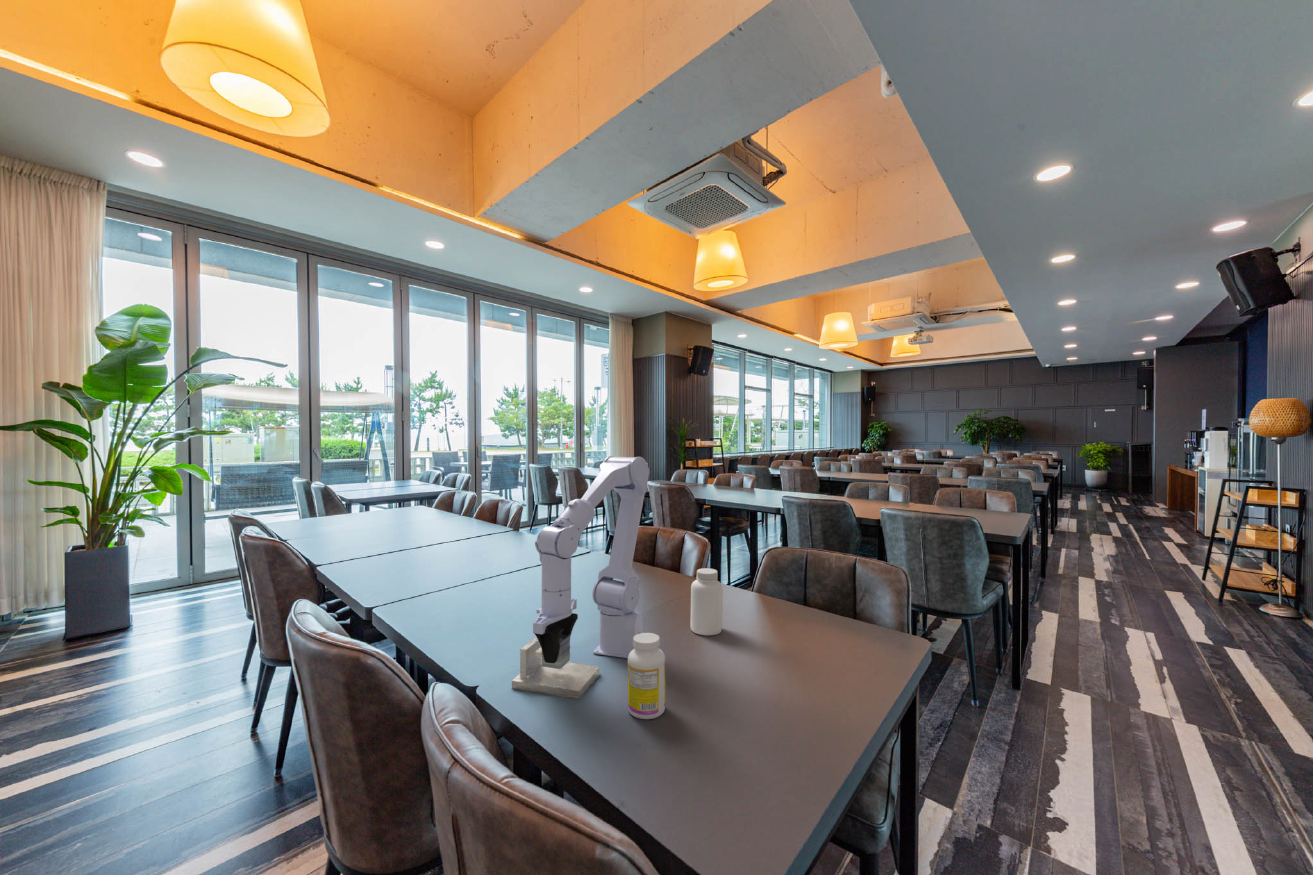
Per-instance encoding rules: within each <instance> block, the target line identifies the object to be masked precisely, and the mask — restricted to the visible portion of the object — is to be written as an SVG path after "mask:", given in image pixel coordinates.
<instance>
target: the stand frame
mask: <svg viewBox="0 0 1313 875" xmlns="http://www.w3.org/2000/svg"><path fill="white" fill-rule="evenodd" d="M541 652H542V649H541V646H540V643H539V641H538V639H537V637H536V636H535V637H534V638H533V639H532V640H530V641H529V642H528V643H526V645H523V647H521V648H520V650H519V653H520V654H519V656H520V657H519V658H520V659H519V660H520V662H519V663H520V665H519V667H520V668H519V674H517V675H516V676H515V677H514V678H513V679H512V680H511V689H513V690H518V691H519V690H520V691H525V692H530V693H531V692H532V693H538V694H543V695H544V694H545V695H550V696H555V697H556V696H557V697H562V698H569V699H574V700H579V699H580V698H581V697H582V696H583V695H584V694H585V692H587V690H588V689H589V688H590V686H592V684H593V683H594V682H595V681H596V680H597V678H598V677H599V676H600V674H601V671H600V668H601V667H600V666H598V665H597V666H596V665H590V664H582V663H575V662H570V661H568V662H567V663H566V664H565V665H564V666H563V667H562V668H561V669H556V668H549V667H542V663H541V660H542V654H541Z"/></svg>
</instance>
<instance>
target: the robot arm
mask: <svg viewBox="0 0 1313 875" xmlns="http://www.w3.org/2000/svg"><path fill="white" fill-rule="evenodd" d="M598 471H599V472H598V474H597V476H596V477H595V478H594V480H593V481H592V483H591V484H590V485H589V487H588V488H587V490H586V491H585V492H584V494H583V495H582V497H581V498H575V499H572V500H570V501H569V502H568V503H567V507H565V509H564V510H563V511H562V513H560V515H559V516H558V517H557V518H555V520H554V521H553V523H552V524H551V525H547V526H545V527H544V528H542V529H541V530H540V532H538V535H537V538H536V541H534V545H535V546H534V547H535V549H536V551H537V553H538V554H539V561H540V563H541V606H540V607H538V608H536V611H535V613H536V614H538V615H537V617H536V620H534V622H533V623H532V633H533V634H534V635H535V638H536V637H537V639H538V641H539V643H540V646H541V649H542V653H543V657H544V661H545V662H546V663H553V664H554V663H555V662H556V660H557V654H558V645H559V640H560V637H561V634H565V635H570V637H571V636H572V633H573V630H574V626H575V624H576V622H577V621H578V619H579V618H578V617H579V615H578V613H573V611H574V610H576V609H577V605H578V604H577V602H578V601H577V600H578V599H576V598H572V556H573V555H574V554H576V552H577V550H578V547H579V541H580V539H581V536H582V533H583V532H584V531H585V529H586V528H587V527H588V526H589V524H590V523H591V522H592V521H593V519H594V518H595V508H596V507H597V506H598V505H599V504H600V503H601V501H603V499H604V498H605V497H607V495H608V494H609V493H610V492H611V491H612V490H613V491H614V492H616V493H617V494H618V496H619V497H620V502H619V509H618V513H617V520H616V525H615V530H614V535H613V539H612V547H611V552H610V554H609V556H610V557H609V561H608V565H607V566H605V567H604V568H603V569H601V570H600V571H599V572H598V576H597V579H596V582H595V583H594V586H593V588H592V600H593V602H594V603H595V605H597V610H599V645H597V647H595V649H594V650H593V651H592V653H593V654H594V655H602V656H609V657H617V658H624V659H628V656H629V653H630V652H631V651H632V650H633V649H635V648H634V645H633V638H634V636H635V635H637V634H640V633H643V626H644V624H643V615H642V613H641V612H639V611H635V609H636V608H637V606H638V604H639V602H640V596H641V595H640V580H641V579H640V577H639V576H638V575H637V574H636V572H635V571H634V570H633V569H632V568H633V561H634V555H635V549H636V543H637V539H638V532H639V526H640V522H641V515H642V510H643V505H644V499H645V494H646V492H647V487H648V482H649V477H650V476H649V475H650V467H649V466H648V464H647V461H646V459H645V458H644V457H642V456H635V457H633V456H632V457H630V456H629V457H628V456H613V455H609V456H607V457H606V458H604V460H603V462H601V463H600V465H599V470H598ZM620 580H621V581H620Z"/></svg>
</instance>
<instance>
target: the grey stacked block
mask: <svg viewBox="0 0 1313 875" xmlns="http://www.w3.org/2000/svg"><path fill="white" fill-rule="evenodd" d="M541 654H542V658H541V659H542V660H541V663H542V667H549V668H556V669H561V668H562V667H563V666H564V665H565V664H566V663H567V662H570V660H571V659H570V658H571V636H570V635H565V634H561V637H560V640H559V645H558V654H557V660H556V662H555V663H554V664H553V663H546V662H545V661H544V657H543V653H542V652H541Z"/></svg>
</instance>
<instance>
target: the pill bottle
mask: <svg viewBox="0 0 1313 875" xmlns="http://www.w3.org/2000/svg"><path fill="white" fill-rule="evenodd" d="M718 575H719V574H718V570H717V569H714V568H708V567H707V568H706V567H705V568H703V567H702V568H699V569H697V570H696V579H695V580H694V581H692V583H691V586H690V624H689V625H690V630H691V631H692V632H693V633H695V634H698V635H700V636H716V635H719V634H720V633H721V632H722V630H723V629H722V628H723V597H724V596H723V591H724V589H723V587H724V586H723V585H722V583H721V582H720V581H719V580H718V579H719V578H718Z"/></svg>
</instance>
